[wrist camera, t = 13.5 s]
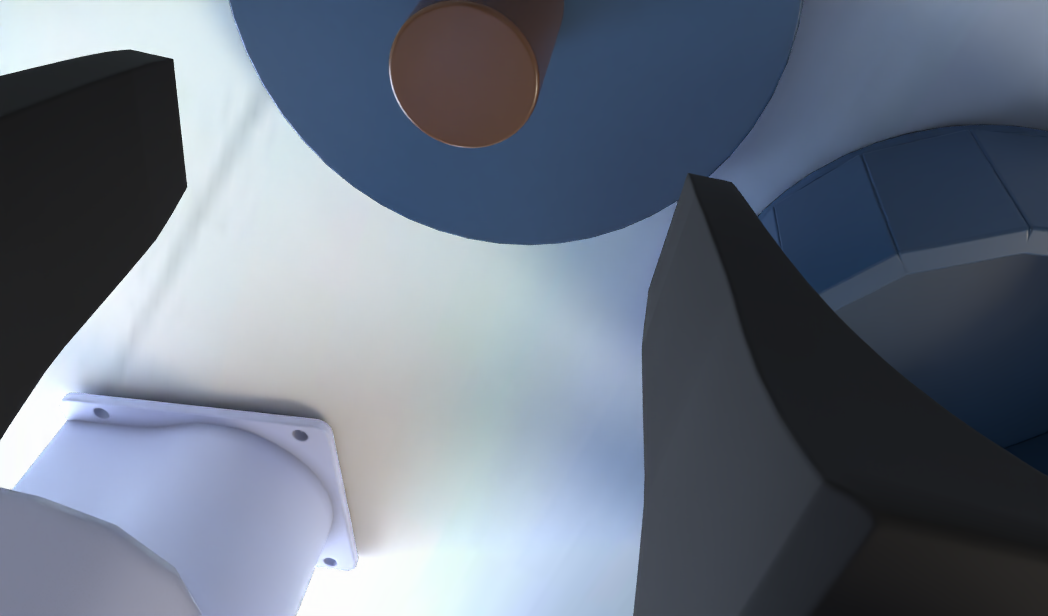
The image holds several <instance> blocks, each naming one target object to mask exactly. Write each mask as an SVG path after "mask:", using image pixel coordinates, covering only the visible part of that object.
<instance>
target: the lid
mask: <svg viewBox="0 0 1048 616" xmlns="http://www.w3.org/2000/svg"><path fill="white" fill-rule="evenodd" d="M229 3H230V7H231V11H232V15H233V18H234V21H235V24H236V26H237V29H238V32H239V34H240V37H241V40H242V43H243V45H244V48H245V51H246V53H247V55H248V57H249V59H250V61H251V63H252V65H253V67H254V69H255V71H256V73H257V75H258V77H259V79H260V81H261V83H262V85H263V86H264V88H265V89H266V91H267V92H268V94H269V95H270V97H271V99H272V100H273V102H274V103H275V105H276V106H277V108H278V109H279V111H280V113H281V114H282V115H283V117H284V118H285V119H286V120H287V122H288V123H289V124H290V125H291V127H292V128H293V129H294V130H295V131H296V133H297V134H298V135H299V136H300V138H301V139H302V140H303V141H304V142H305V143H306V144H307V145H308V146H309V147H310V148H311V149H312V150H313V151H314V152H315V153H316V154H317V155H318V156H319V157H320V158H321V159H322V161H323V162H324V163H325V164H326V165H328V166H329V167H330V168H331V169H332V170H334V171H335V172H336V173H337V174H339V175H340V176H341V177H342V178H343V179H345V180H346V181H347V182H348V183H350V184H351V185H352V186H353V187H355V188H356V189H358V190H359V191H361V192H362V193H364V194H365V195H367V196H368V197H370V198H372V199H373V200H375V201H376V202H378V203H379V204H381V205H383V206H385V207H387V208H389V209H390V210H392V211H394V212H396V213H398V214H400V215H402V216H404V217H406V218H408V219H410V220H413V221H415V222H418V223H420V224H423V225H426V226H428V227H431V228H433V229H436V230H438V231H442V232H446V233H449V234H453V235H457V236H460V237H464V238H468V239H474V240H480V241H486V242H492V243H499V244H518V245H539V244H556V243H565V242H570V241H576V240H582V239H587V238H592V237H596V236H599V235H602V234H606V233H609V232H613V231H616V230H619V229H622V228H625V227H627V226H629V225H632V224H634V223H636V222H638V221H641V220H643V219H645V218H648V217H650V216H652V215H654V214H655V213H657V212H659V211H661V210H662V209H664V208H666V207H668V206H669V205H671V204H673V203H674V202H676V201H678V200H679V198H680V195H681V192H682V189H683V186H684V183H685V180H686V177H687V174H688V173H692V174H696V175H701V176H705V177H709V176H710V175H711V174H712V173H713V172H714V171H715V170H716V169H717V168H718V167H719V166H720V165H721V164H722V163H723V162H724V161H725V160H727V159H728V158H729V157H730V156H731V154H732V153H733V152H734V151H735V149H736V148H737V147H738V146H739V144H740V143H741V142H742V141H743V139H744V138H745V137H746V136H747V135H748V133H749V132H750V131H751V130H752V128H753V127H754V125H755V124H756V122H757V120H758V119H759V117H760V115H761V114H762V112H763V111H764V109H765V107H766V106H767V104H768V102H769V101H770V99H771V98H772V96H773V93H774V91H775V89H776V87H777V85H778V82H779V80H780V78H781V76H782V74H783V71H784V69H785V67H786V65H787V63H788V59H789V56H790V53H791V50H792V46H793V43H794V40H795V37H796V33H797V30H798V27H799V23H800V17H801V11H802V5H803V0H229Z"/></svg>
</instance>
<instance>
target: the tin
mask: <svg viewBox="0 0 1048 616" xmlns="http://www.w3.org/2000/svg"><path fill="white" fill-rule="evenodd" d="M758 218H759V219H760V221H761V222H762V224H763V225H764V226H765V228H766V229H767V231H768V232H769V233H770V235H771V236H772V237H773V239H774V240H775V241H776V243H777V244H778V245H779V247H780V248H781V249H782V251H783V252H784V253H785V255H786V256H787V257H788V258H789V260H790V261H791V262H792V263H793V265H794V266H795V267H796V268H797V270H798V271H799V272H800V273H801V274H802V276H803V277H804V278H805V279H806V281H807V282H808V283H809V284H810V285H811V286H812V287H813V289H814V290H815V291H816V292H817V293H818V294H819V295H820V296H821V298H822V299H823V300H824V301H825V302H826V303H827V304H828V305H829V307H830V308H831V309H832V310H833V311H834V312H835V313H836V314H837V315H838V316H839V317H840V318H841V319H842V320H843V321H844V322H845V323H846V324H847V325H848V326H849V327H850V328H851V329H852V330H853V331H854V332H855V333H856V334H857V335H858V336H859V337H860V338H861V339H862V340H863V341H864V342H866V343H867V344H868V345H869V346H870V347H871V348H872V349H873V350H874V351H875V352H876V353H877V354H878V355H880V356H881V357H882V358H883V359H884V360H885V361H886V362H887V363H888V364H890V365H891V366H892V367H893V368H894V369H896V370H897V371H898V372H899V373H900V374H902V375H903V376H904V377H905V378H906V379H908V380H909V381H910V382H911V383H913V384H914V385H915V386H917V387H918V388H919V389H920V390H922V391H923V392H924V393H926V394H927V395H928V396H929V397H931V398H932V399H933V400H935V401H936V402H937V403H939V404H940V405H941V406H942V407H944V408H945V409H946V410H948V411H949V412H950V413H952V414H953V415H955V416H956V417H957V418H959V419H960V420H962V421H963V422H965V423H966V424H967V425H969V426H970V427H972V428H973V429H975V430H976V431H977V432H979V433H980V434H982V435H983V436H985V437H986V438H988V439H990V440H991V441H993V442H994V443H996V444H997V445H999V446H1000V447H1002V448H1003V449H1005V450H1007V451H1008V452H1010V453H1011V454H1013V455H1014V456H1016V457H1017V458H1019V459H1020V460H1022V461H1024V462H1025V463H1027V464H1028V465H1030V466H1031V467H1033V468H1035V469H1036V470H1038V471H1040V472H1041V473H1043V474H1045V475H1047V476H1048V131H1044V130H1038V129H1032V128H1025V127H1019V126H1003V125H967V126H953V127H943V128H937V129H931V130H926V131H920V132H915V133H909V134H906V135H902V136H899V137H895V138H892V139H888V140H885V141H881V142H878V143H875V144H872V145H870V146H867V147H865V148H862V149H860V150H857V151H855V152H852V153H850V154H847V155H845V156H843V157H841V158H839V159H837V160H835V161H833V162H831V163H829V164H828V165H826V166H824V167H822V168H820V169H818V170H816V171H814V172H813V173H811V174H810V175H808V176H807V177H805V178H804V179H802V180H801V181H799V182H798V183H796V184H795V185H794V186H792V187H791V188H789V189H788V190H786V191H785V192H784V193H783V194H782V195H781V196H779V197H778V198H777V199H776V200H775V201H774V202H772V203H771V204H770V205H769V206H768V207H767V208H765V209H764V210H763V211H762V213H761V214H760V215H759V216H758Z"/></svg>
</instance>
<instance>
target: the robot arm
mask: <svg viewBox="0 0 1048 616" xmlns="http://www.w3.org/2000/svg"><path fill="white" fill-rule="evenodd" d="M186 188H187V181H186V172H185V163H184V154H183V144H182V135H181V126H180V117H179V108H178V99H177V89H176V80H175V71H174V62H173V59H171V58H166V57H162V56H157V55H152V54H148V53H143V52H139V51H134V50H119V51H111V52H104V53H98V54H93V55H88V56H83V57H78V58H74V59H69V60H65V61H61V62H56V63H52V64H48V65H44V66H40V67H35V68H31V69H27V70H23V71H19V72H15V73H11V74H6V75H2V76H0V440H1V438H2V437H3V435H4V433H5V432H6V430H7V428H8V427H9V425H10V424H11V422H12V421H13V419H14V418H15V416H16V415H17V413H18V412H19V410H20V409H21V407H22V406H23V404H24V403H25V401H26V400H27V398H28V397H29V395H30V394H31V392H32V391H33V389H34V388H35V386H36V385H37V383H38V382H39V380H40V379H41V377H42V376H43V374H44V373H45V371H46V370H47V369H48V367H49V366H50V365H51V364H52V362H53V361H54V360H55V358H56V357H57V356H58V355H59V353H60V352H61V351H62V350H63V348H64V347H65V346H66V345H67V343H68V342H69V341H70V340H71V339H72V338H73V336H74V335H75V334H76V333H77V332H78V331H79V329H80V328H81V327H82V326H83V325H84V324H85V323H86V321H87V320H88V319H89V318H90V317H91V316H92V314H93V313H94V312H95V311H96V310H97V309H98V307H99V306H100V305H101V304H102V303H103V302H104V301H105V299H106V298H107V297H108V296H109V295H110V294H111V292H112V291H113V290H114V289H115V288H116V287H117V285H118V284H119V283H120V282H121V281H122V280H123V279H124V277H125V276H126V275H127V274H128V273H129V271H130V270H131V269H132V268H133V267H134V265H135V264H136V263H137V262H138V261H139V260H140V258H141V257H142V256H143V255H144V254H145V252H146V251H147V250H148V249H149V247H150V246H151V245H152V244H153V243H154V241H155V240H156V239H157V237H158V236H159V234H160V232H161V231H162V229H163V228H164V226H165V224H166V223H167V221H168V220H169V218H170V217H171V215H172V213H173V211H174V210H175V208H176V206H177V204H178V202H179V201H180V199H181V197H182V195H183V194H184V192H185V190H186ZM642 388H643V430H644V470H645V481H644V509H643V521H642V532H641V543H640V554H639V565H638V575H637V585H636V594H635V604H634V614H633V616H1048V476H1047V475H1045V474H1043V473H1041V472H1040V471H1038V470H1036V469H1035V468H1033V467H1031V466H1030V465H1028V464H1027V463H1025V462H1024V461H1022V460H1020V459H1019V458H1017V457H1016V456H1014V455H1013V454H1011V453H1010V452H1008V451H1007V450H1005V449H1003V448H1002V447H1000V446H999V445H997V444H996V443H994V442H993V441H991V440H990V439H988V438H986V437H985V436H983V435H982V434H980V433H979V432H977V431H976V430H975V429H973V428H972V427H970V426H969V425H967V424H966V423H965V422H963V421H962V420H960V419H959V418H957V417H956V416H955V415H953V414H952V413H950V412H949V411H948V410H946V409H945V408H944V407H942V406H941V405H940V404H939V403H937V402H936V401H935V400H933V399H932V398H931V397H929V396H928V395H927V394H926V393H924V392H923V391H922V390H920V389H919V388H918V387H917V386H915V385H914V384H913V383H911V382H910V381H909V380H908V379H906V378H905V377H904V376H903V375H902V374H900V373H899V372H898V371H897V370H896V369H894V368H893V367H892V366H891V365H890V364H888V363H887V362H886V361H885V360H884V359H883V358H882V357H881V356H880V355H878V354H877V353H876V352H875V351H874V350H873V349H872V348H871V347H870V346H869V345H868V344H867V343H866V342H864V341H863V340H862V339H861V338H860V337H859V336H858V335H857V334H856V333H855V332H854V331H853V330H852V329H851V328H850V327H849V326H848V325H847V324H846V323H845V322H844V321H843V320H842V319H841V318H840V317H839V316H838V315H837V314H836V313H835V312H834V311H833V310H832V309H831V308H830V307H829V305H828V304H827V303H826V302H825V301H824V300H823V299H822V298H821V296H820V295H819V294H818V293H817V292H816V291H815V290H814V289H813V287H812V286H811V285H810V284H809V283H808V282H807V281H806V279H805V278H804V277H803V276H802V274H801V273H800V272H799V271H798V270H797V268H796V267H795V266H794V265H793V263H792V262H791V261H790V260H789V258H788V257H787V256H786V255H785V253H784V252H783V251H782V249H781V248H780V247H779V245H778V244H777V243H776V241H775V240H774V239H773V237H772V236H771V235H770V233H769V232H768V231H767V229H766V228H765V226H764V225H763V224H762V222H761V221H760V219H759V218H758V217H757V215H756V214H755V213H754V211H753V210H752V208H751V207H750V206H749V204H748V203H747V201H746V200H745V199H744V197H743V196H742V194H741V193H740V192H739V191H738V189H737V188H736V187H735V186H734V184H733V183H732V182H728V181H723V180H719V179H714V178H710V177H705V176H701V175H696V174H692V173H688V174H687V177H686V180H685V183H684V186H683V189H682V192H681V195H680V198H679V201H678V204H677V206H676V209H675V212H674V215H673V218H672V221H671V224H670V227H669V230H668V233H667V236H666V239H665V242H664V245H663V248H662V251H661V254H660V257H659V260H658V263H657V266H656V269H655V272H654V275H653V278H652V281H651V284H650V287H649V291H648V299H647V307H646V315H645V323H644V332H643V341H642ZM60 406H61V409H62V411H63V413H64V415H65V417H66V419H67V421H66V423H65V424H64V425H63V426H62V428H61V429H60V430H59V431H58V433H57V434H56V435H55V436H54V438H53V439H52V440H51V441H50V443H49V444H48V445H47V447H46V448H45V449H44V450H43V452H42V453H41V454H40V455H39V457H38V458H37V459H36V460H35V462H34V463H33V464H32V465H31V467H30V468H29V469H28V470H27V472H26V473H25V474H24V475H23V477H22V478H21V479H20V480H19V482H18V483H17V484H16V486H15V487H14V488H13V489H12V490H9V489H5V488H0V616H296V615H297V612H298V610H299V607H300V605H301V602H302V600H303V597H304V595H305V592H306V590H307V587H308V585H309V582H310V580H311V577H312V574H313V572H314V569H315V567H322V568H330V569H338V570H352V569H354V568H355V567H356V565H357V562H358V553H357V548H356V543H355V538H354V533H353V528H352V523H351V518H350V513H349V509H348V504H347V499H346V494H345V489H344V484H343V479H342V474H341V469H340V464H339V460H338V455H337V450H336V445H335V440H334V435H333V431H332V429H331V427H330V426H329V425H328V424H327V423H326V422H324V421H322V420H319V419H313V418H304V417H295V416H286V415H277V414H268V413H258V412H249V411H240V410H231V409H222V408H213V407H204V406H194V405H185V404H176V403H167V402H158V401H149V400H139V399H130V398H121V397H112V396H103V395H94V394H84V393H68V394H67V395H66V396H65V397H64V398H63V399H62V401H61V403H60ZM300 430H301V431H300Z"/></svg>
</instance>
